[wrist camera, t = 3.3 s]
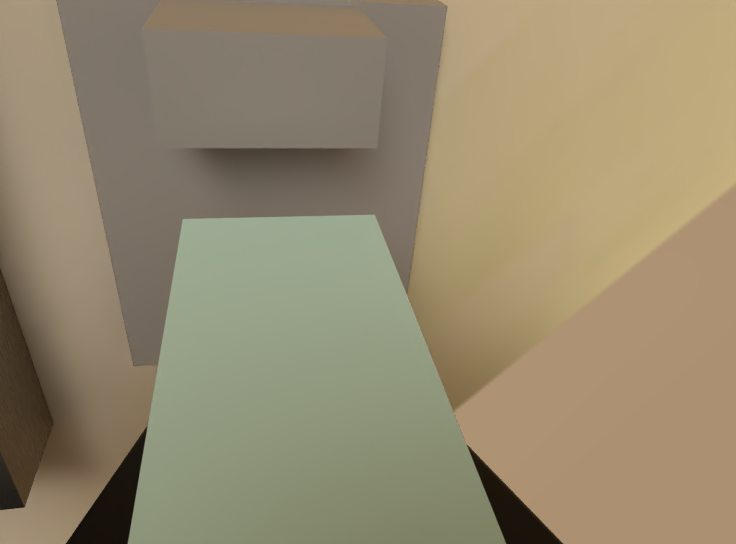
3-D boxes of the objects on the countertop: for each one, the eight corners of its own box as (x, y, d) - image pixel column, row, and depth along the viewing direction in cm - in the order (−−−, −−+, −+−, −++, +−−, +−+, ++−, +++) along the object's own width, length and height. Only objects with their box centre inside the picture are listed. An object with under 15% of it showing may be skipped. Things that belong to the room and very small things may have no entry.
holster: (394, 331, 19) (424, 419, 16) (137, 347, 17) (115, 449, 14) (436, -1, 13) (497, 36, 10) (63, -20, 12) (0, 16, 9)
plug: (355, 422, 12) (457, 904, 6) (208, 436, 11) (179, 980, 6) (374, 214, 9) (585, 743, 4) (182, 218, 9) (74, 856, 3)
